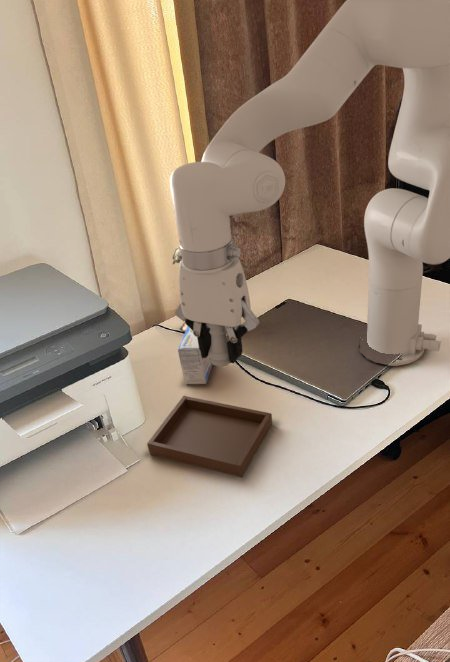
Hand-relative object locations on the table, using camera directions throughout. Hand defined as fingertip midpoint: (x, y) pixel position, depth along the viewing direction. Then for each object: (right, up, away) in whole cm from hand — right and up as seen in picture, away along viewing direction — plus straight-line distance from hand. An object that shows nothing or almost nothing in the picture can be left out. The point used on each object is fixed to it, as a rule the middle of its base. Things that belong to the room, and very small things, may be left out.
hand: (221, 354), depth 103 cm
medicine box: (-4, -2, +24) cm, 24 cm away
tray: (-2, -14, +8) cm, 16 cm away
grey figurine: (-3, +8, +37) cm, 38 cm away
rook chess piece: (0, -1, +1) cm, 1 cm away
